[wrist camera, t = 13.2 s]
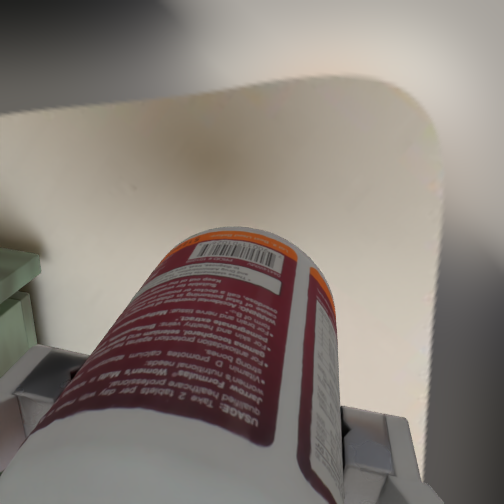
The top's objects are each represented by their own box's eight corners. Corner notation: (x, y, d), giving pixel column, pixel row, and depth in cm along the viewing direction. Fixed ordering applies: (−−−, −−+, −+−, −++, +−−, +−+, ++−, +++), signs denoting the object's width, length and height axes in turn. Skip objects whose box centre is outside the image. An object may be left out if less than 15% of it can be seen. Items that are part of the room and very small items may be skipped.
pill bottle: (123, 295, 15) (-315, 832, 5) (239, 179, 12) (-185, 829, 2) (247, 399, 16) (113, 995, 6) (376, 314, 13) (528, 1122, 3)
